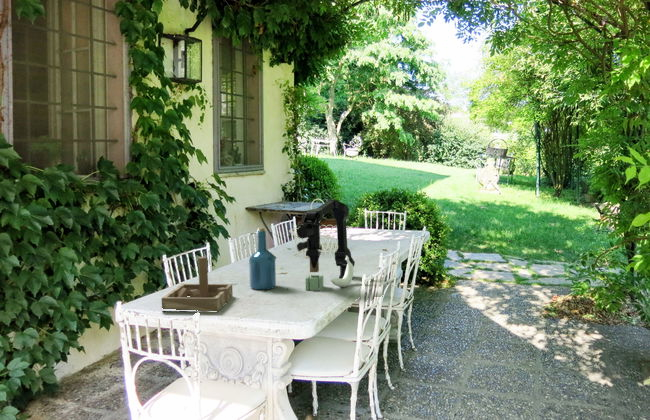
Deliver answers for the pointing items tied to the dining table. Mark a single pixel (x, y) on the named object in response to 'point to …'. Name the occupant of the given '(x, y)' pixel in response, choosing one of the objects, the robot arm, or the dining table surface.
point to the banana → (345, 275)
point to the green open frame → (314, 282)
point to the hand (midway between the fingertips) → (314, 267)
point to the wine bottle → (262, 265)
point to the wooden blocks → (201, 283)
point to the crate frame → (197, 303)
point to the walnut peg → (315, 267)
